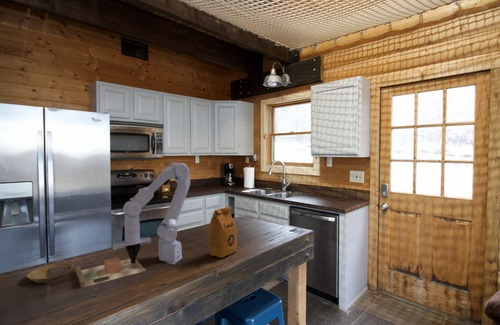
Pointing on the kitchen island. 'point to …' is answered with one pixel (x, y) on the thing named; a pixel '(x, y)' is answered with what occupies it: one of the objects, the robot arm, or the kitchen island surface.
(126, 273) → the box
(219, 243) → the coffee package
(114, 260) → the rust block
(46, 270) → the plant saucer
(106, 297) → the kitchen island surface
